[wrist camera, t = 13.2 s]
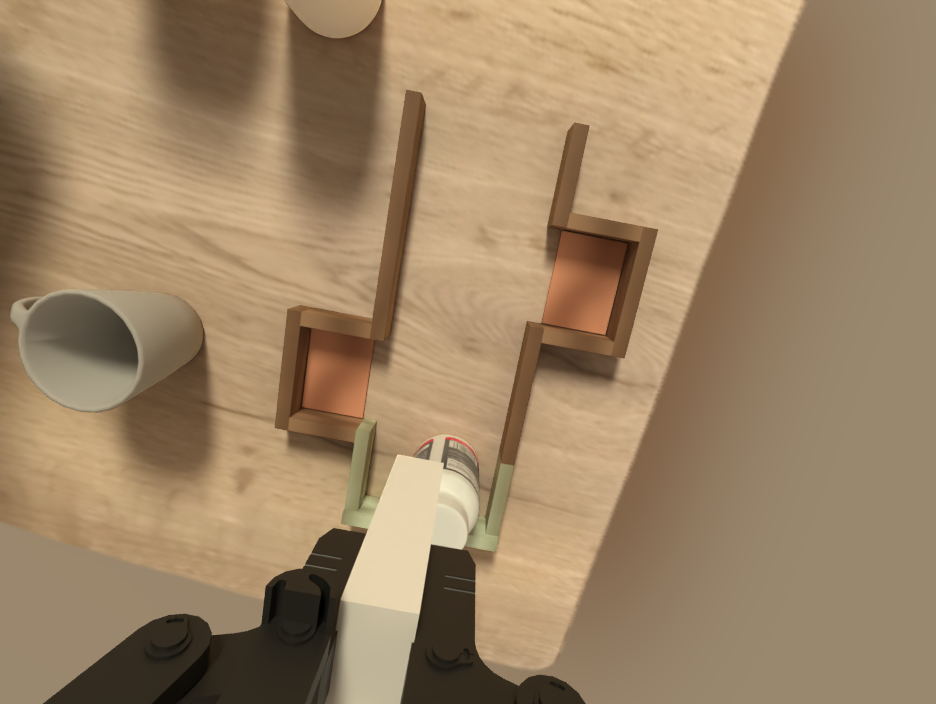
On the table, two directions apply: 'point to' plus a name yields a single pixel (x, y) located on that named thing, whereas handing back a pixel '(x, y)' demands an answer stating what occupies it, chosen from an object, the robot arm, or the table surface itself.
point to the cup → (103, 343)
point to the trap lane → (568, 305)
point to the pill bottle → (453, 489)
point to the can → (335, 15)
